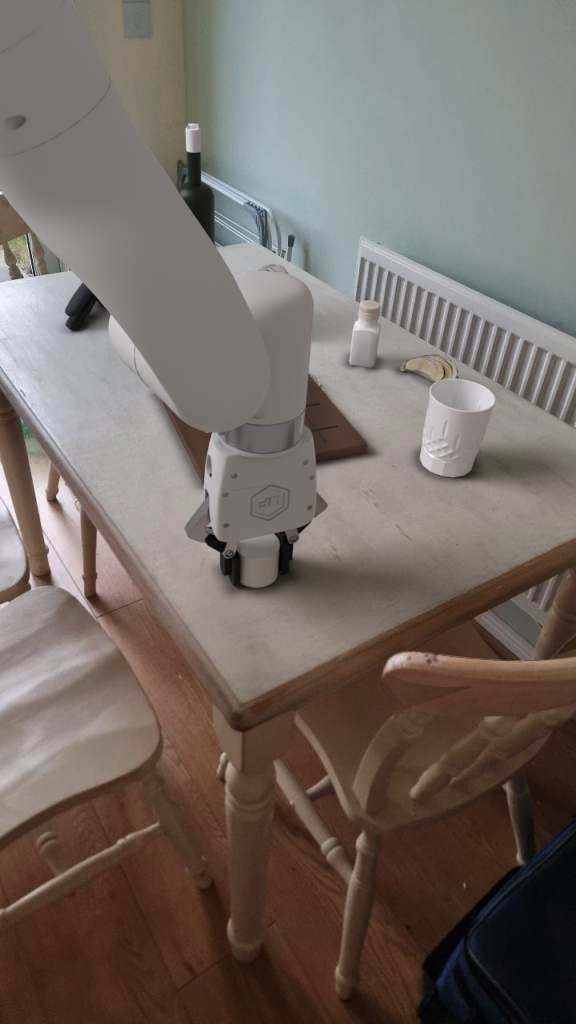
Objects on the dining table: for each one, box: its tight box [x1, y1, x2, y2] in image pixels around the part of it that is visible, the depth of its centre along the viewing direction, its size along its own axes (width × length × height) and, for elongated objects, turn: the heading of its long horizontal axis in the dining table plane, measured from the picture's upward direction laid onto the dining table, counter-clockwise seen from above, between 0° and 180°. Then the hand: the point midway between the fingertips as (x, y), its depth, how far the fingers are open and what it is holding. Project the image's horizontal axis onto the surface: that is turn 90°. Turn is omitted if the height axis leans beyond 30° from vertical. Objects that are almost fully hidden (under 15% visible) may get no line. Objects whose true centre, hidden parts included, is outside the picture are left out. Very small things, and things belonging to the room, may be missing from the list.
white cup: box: [419, 378, 497, 478], centre depth 86 cm, size 8×8×10 cm
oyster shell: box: [399, 353, 459, 384], centre depth 105 cm, size 6×4×10 cm
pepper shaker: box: [348, 299, 382, 368], centre depth 107 cm, size 4×4×10 cm
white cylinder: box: [237, 534, 280, 589], centre depth 71 cm, size 5×5×4 cm
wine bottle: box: [176, 122, 216, 246], centre depth 107 cm, size 6×6×30 cm
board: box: [160, 373, 368, 485], centre depth 94 cm, size 22×22×2 cm
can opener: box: [64, 282, 99, 330], centre depth 117 cm, size 18×7×6 cm, turn 169°
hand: (256, 569), depth 72 cm, fingers closed on white cylinder, 4 cm apart
